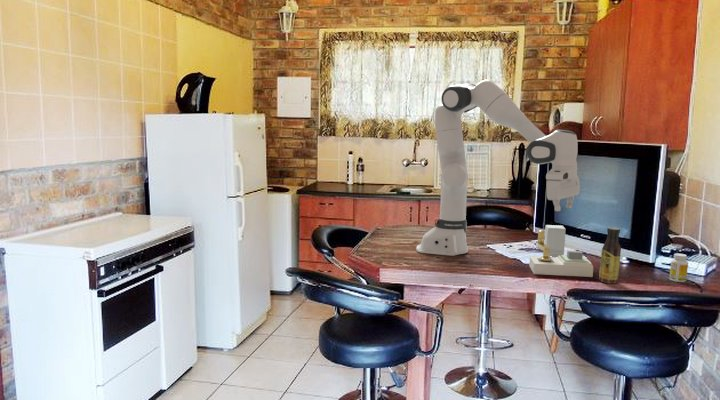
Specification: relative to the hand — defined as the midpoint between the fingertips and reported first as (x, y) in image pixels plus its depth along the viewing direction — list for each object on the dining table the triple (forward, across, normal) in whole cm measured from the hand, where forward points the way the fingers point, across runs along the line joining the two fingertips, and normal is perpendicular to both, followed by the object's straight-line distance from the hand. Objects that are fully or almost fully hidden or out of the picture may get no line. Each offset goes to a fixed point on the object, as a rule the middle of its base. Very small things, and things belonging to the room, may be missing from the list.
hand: (563, 209), depth 207 cm
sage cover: (+20, -1, +4) cm, 20 cm away
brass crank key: (+19, +4, -6) cm, 21 cm away
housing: (+24, +2, 0) cm, 24 cm away
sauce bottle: (+24, +2, +18) cm, 31 cm away
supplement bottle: (+26, -19, +35) cm, 47 cm away
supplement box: (+24, -19, -13) cm, 33 cm away
